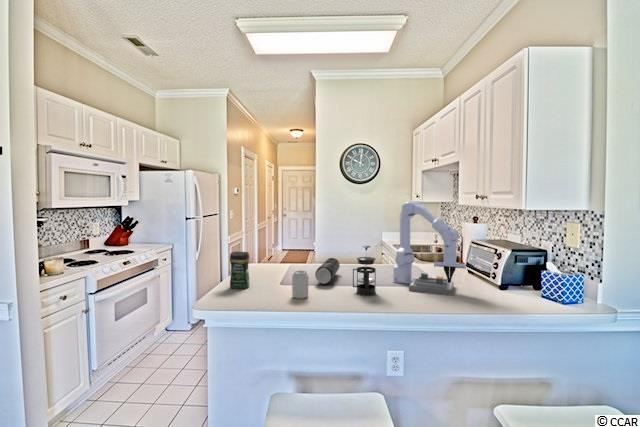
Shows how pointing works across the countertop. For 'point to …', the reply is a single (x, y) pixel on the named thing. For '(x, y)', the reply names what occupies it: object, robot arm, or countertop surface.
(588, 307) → the countertop surface
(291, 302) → the countertop surface
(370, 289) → the french press
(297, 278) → the can
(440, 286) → the block
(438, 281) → the breaker toggle
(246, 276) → the coffee jar
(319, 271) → the dark thermos flask
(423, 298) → the countertop surface
